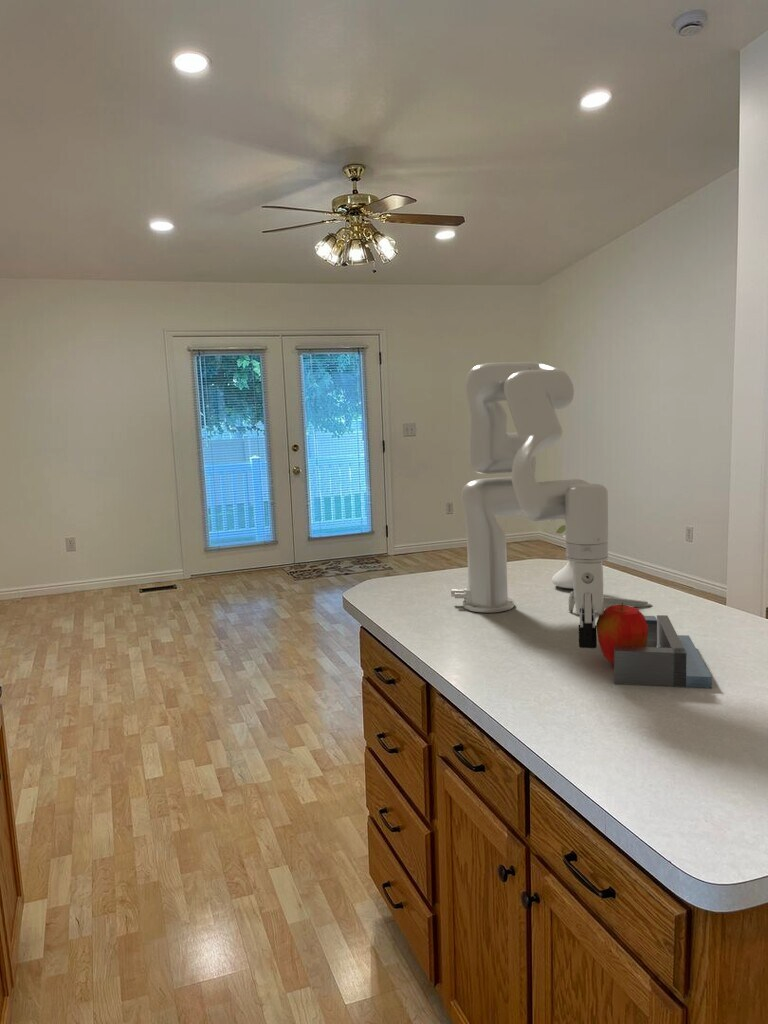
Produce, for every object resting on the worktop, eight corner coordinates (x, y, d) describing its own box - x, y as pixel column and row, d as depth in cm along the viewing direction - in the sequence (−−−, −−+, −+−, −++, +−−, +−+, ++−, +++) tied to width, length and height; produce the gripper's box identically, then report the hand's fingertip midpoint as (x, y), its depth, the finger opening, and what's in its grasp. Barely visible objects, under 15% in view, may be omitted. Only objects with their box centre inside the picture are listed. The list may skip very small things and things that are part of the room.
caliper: (570, 614, 164) (570, 588, 164) (568, 613, 166) (568, 587, 165) (652, 607, 167) (652, 581, 166) (650, 606, 168) (650, 580, 167)
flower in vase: (576, 579, 196) (575, 490, 192) (604, 588, 185) (604, 494, 182) (537, 586, 190) (536, 494, 187) (564, 595, 180) (563, 498, 177)
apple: (588, 658, 135) (588, 597, 133) (633, 654, 136) (633, 594, 134) (609, 676, 125) (608, 611, 124) (657, 672, 126) (657, 607, 125)
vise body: (615, 684, 122) (614, 650, 121) (606, 642, 143) (606, 614, 142) (711, 688, 118) (712, 654, 117) (688, 645, 139) (689, 615, 138)
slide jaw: (608, 648, 139) (608, 619, 138) (607, 643, 142) (607, 614, 141) (656, 650, 136) (657, 620, 136) (654, 645, 139) (655, 615, 139)
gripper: (610, 559, 121) (610, 661, 124) (605, 543, 136) (606, 634, 138) (565, 559, 123) (567, 659, 126) (565, 543, 138) (567, 633, 140)
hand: (587, 646), depth 132 cm, fingers closed
